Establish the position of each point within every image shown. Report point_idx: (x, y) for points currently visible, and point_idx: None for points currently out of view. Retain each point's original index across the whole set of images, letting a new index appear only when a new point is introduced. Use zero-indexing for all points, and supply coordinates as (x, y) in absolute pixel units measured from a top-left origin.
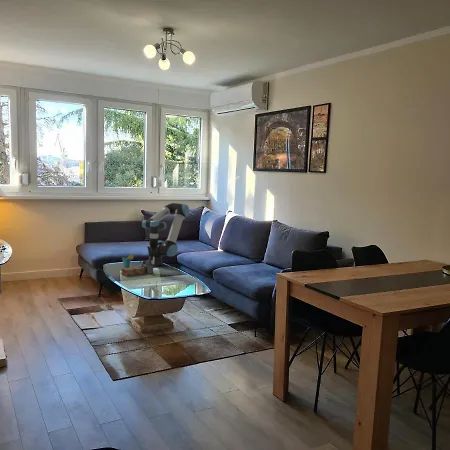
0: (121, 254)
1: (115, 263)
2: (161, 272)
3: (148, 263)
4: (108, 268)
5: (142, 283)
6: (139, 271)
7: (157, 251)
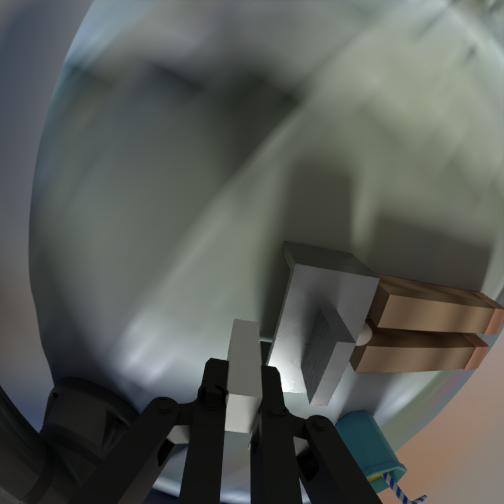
0: (412, 501)
1: None
2: (178, 223)
3: (347, 328)
4: None
5: (500, 86)
6: (418, 289)
7: (130, 474)
